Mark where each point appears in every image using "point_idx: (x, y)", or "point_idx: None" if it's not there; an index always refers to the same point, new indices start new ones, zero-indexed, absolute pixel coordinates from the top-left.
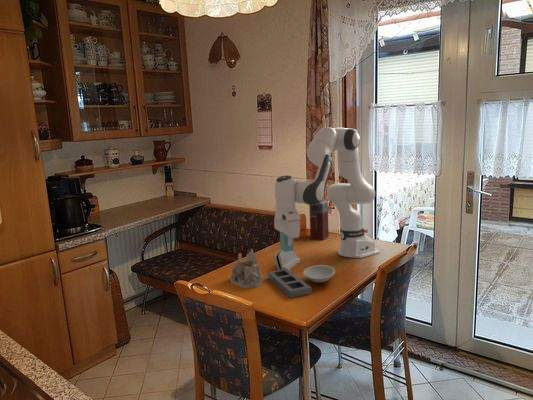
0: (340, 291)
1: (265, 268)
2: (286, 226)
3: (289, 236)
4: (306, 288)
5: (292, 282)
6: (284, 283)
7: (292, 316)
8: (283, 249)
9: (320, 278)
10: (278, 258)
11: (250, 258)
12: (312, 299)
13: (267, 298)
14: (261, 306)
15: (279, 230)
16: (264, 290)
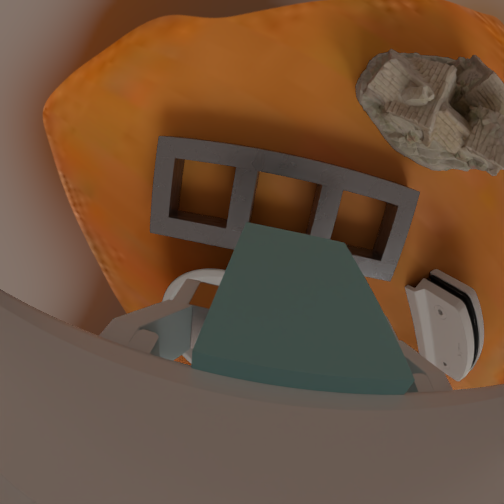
0: (135, 304)
1: (475, 243)
2: (12, 497)
3: (1, 298)
4: (151, 210)
5: (237, 200)
6: (250, 163)
7: (73, 88)
8: (271, 233)
9: (164, 295)
10: (458, 297)
11: (493, 126)
12: (123, 198)
13: (224, 62)
14: (179, 23)
15: (454, 402)
16: (305, 91)
